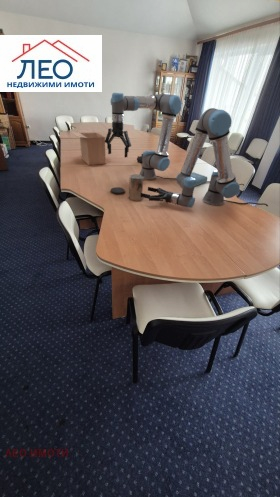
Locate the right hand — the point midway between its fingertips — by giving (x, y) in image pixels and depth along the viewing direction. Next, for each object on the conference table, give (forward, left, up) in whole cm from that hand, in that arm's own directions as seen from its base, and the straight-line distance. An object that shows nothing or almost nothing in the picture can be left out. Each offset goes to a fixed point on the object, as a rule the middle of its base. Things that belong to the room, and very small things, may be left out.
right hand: (144, 191), depth 161 cm
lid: (+20, -13, -5) cm, 24 cm away
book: (-46, -43, -7) cm, 63 cm away
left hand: (+20, -13, +21) cm, 32 cm away
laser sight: (-8, -97, -7) cm, 98 cm away
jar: (+6, -3, -7) cm, 9 cm away
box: (+50, -94, -7) cm, 107 cm away
